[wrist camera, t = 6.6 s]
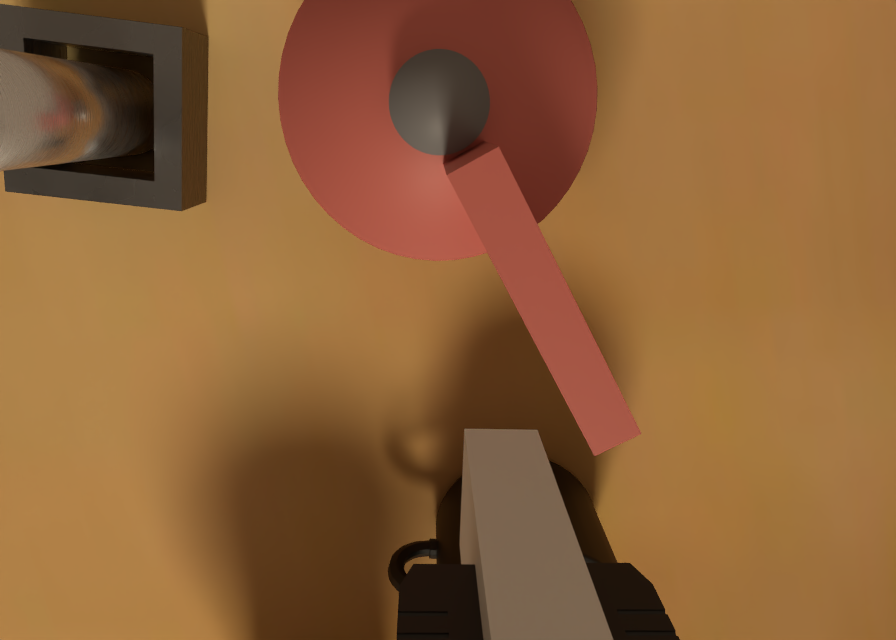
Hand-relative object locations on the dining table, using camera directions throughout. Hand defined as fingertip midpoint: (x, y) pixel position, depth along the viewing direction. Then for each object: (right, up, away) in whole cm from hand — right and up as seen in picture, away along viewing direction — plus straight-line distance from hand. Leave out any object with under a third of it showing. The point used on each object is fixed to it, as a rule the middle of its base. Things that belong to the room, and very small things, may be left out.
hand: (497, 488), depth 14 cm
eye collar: (-17, +14, +19) cm, 28 cm away
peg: (-17, +14, +19) cm, 28 cm away
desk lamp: (0, +9, +14) cm, 17 cm away
